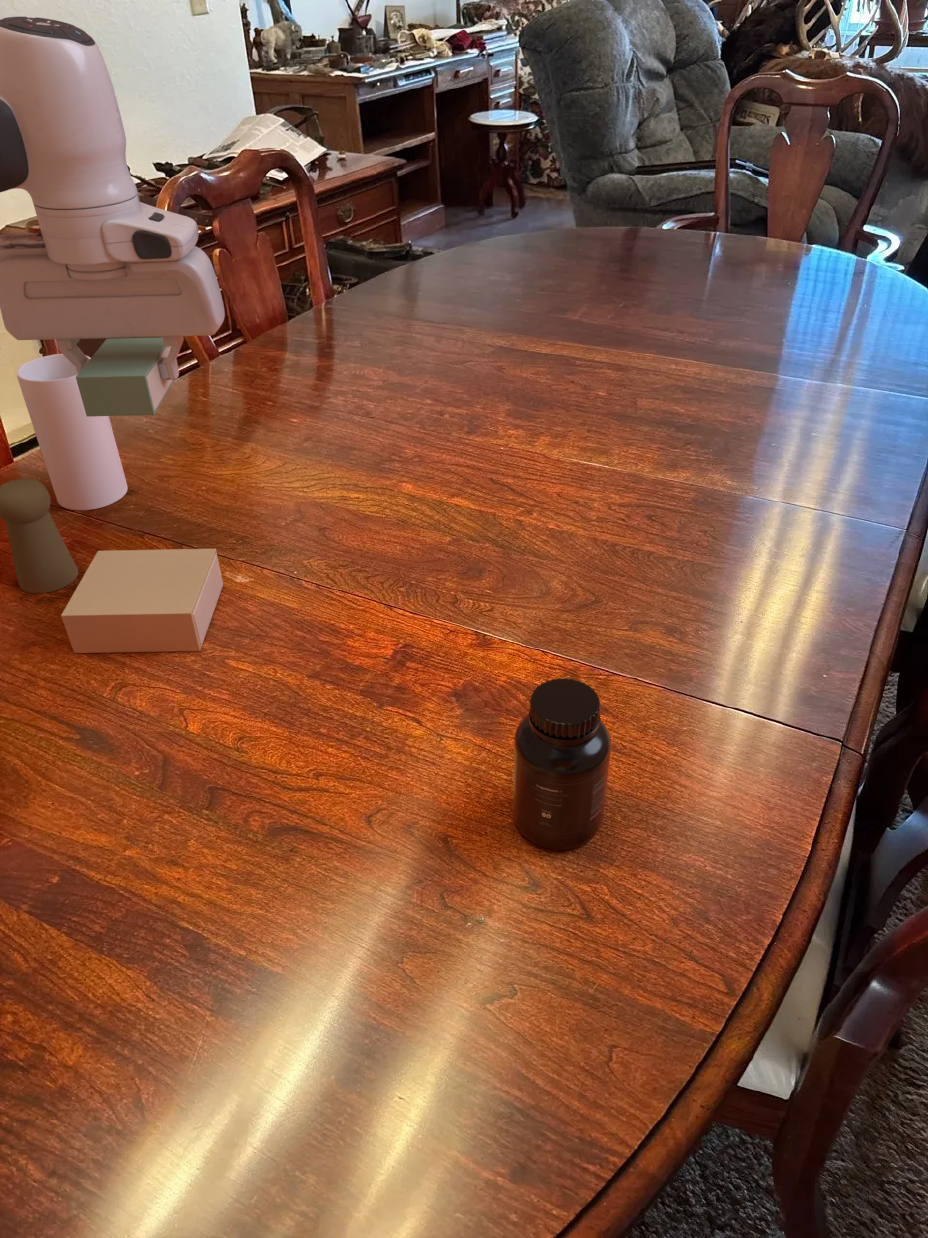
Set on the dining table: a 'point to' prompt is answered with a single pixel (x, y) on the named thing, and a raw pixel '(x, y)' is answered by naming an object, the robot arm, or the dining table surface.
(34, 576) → the olive pawn piece
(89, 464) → the cup
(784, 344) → the dining table surface
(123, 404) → the sage green brick
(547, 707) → the supplement bottle
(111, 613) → the tan flat block
